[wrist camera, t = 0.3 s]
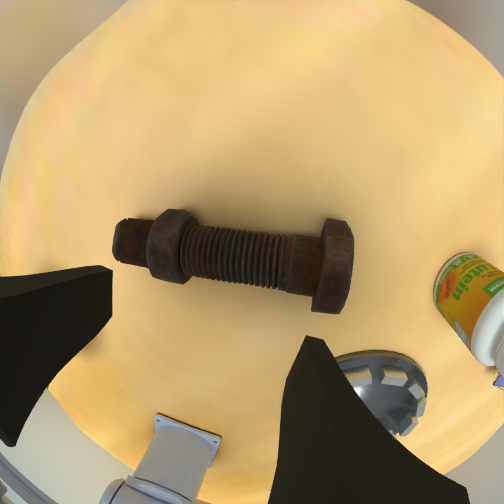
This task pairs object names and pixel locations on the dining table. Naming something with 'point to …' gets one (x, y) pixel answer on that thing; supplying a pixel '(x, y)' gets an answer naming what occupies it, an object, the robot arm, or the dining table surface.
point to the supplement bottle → (474, 306)
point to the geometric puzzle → (499, 381)
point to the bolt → (241, 256)
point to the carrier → (387, 387)
